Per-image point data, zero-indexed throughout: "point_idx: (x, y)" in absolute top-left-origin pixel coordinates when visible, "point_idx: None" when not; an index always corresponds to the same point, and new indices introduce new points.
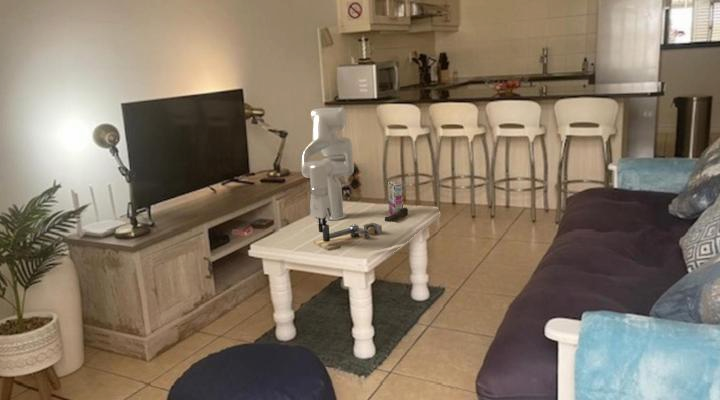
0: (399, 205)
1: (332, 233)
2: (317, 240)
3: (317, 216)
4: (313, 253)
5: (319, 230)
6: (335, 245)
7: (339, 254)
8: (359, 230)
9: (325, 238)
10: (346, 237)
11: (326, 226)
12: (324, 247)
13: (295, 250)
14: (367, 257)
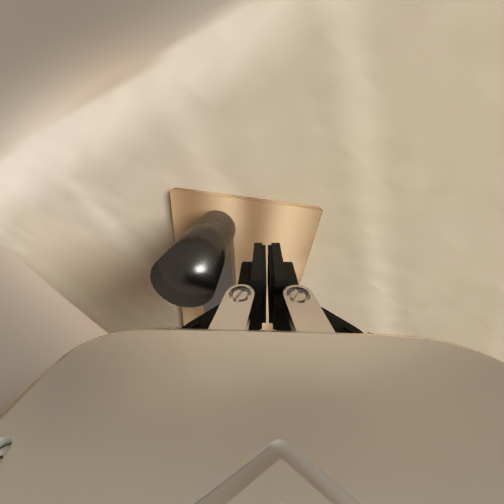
0: None
1: (223, 284)
2: (313, 229)
3: (241, 342)
4: (177, 91)
5: (272, 246)
6: (180, 237)
7: (89, 189)
8: None
9: (198, 220)
10: None
11: (152, 273)
12: (205, 193)
13: (322, 24)
14: (7, 240)
